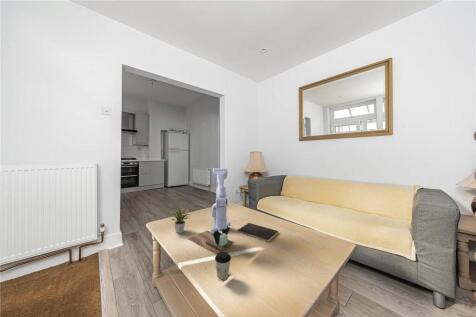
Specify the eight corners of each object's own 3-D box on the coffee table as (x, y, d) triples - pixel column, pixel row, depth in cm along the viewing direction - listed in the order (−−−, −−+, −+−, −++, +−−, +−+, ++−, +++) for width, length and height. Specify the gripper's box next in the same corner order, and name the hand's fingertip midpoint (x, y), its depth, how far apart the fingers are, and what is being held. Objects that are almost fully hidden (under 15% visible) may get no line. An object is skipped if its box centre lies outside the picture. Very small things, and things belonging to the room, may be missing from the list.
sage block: (220, 241, 101) (220, 230, 101) (227, 245, 97) (227, 233, 97) (213, 245, 97) (213, 233, 97) (221, 249, 93) (221, 236, 93)
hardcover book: (268, 243, 103) (268, 239, 103) (237, 233, 116) (237, 229, 116) (277, 233, 117) (278, 230, 117) (249, 225, 130) (249, 222, 130)
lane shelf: (207, 231, 116) (207, 228, 116) (235, 244, 100) (235, 240, 100) (187, 240, 103) (187, 236, 103) (216, 256, 88) (216, 251, 88)
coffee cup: (230, 272, 76) (231, 250, 76) (230, 283, 69) (231, 259, 69) (215, 272, 76) (215, 250, 76) (213, 283, 69) (214, 259, 69)
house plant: (174, 239, 104) (175, 213, 104) (163, 233, 113) (163, 208, 112) (193, 231, 116) (194, 207, 115) (181, 226, 124) (182, 204, 124)
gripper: (217, 223, 88) (216, 249, 89) (234, 216, 100) (234, 239, 100) (208, 220, 93) (207, 244, 93) (225, 213, 104) (225, 235, 104)
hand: (220, 241), depth 97 cm, fingers closed on sage block, 5 cm apart
